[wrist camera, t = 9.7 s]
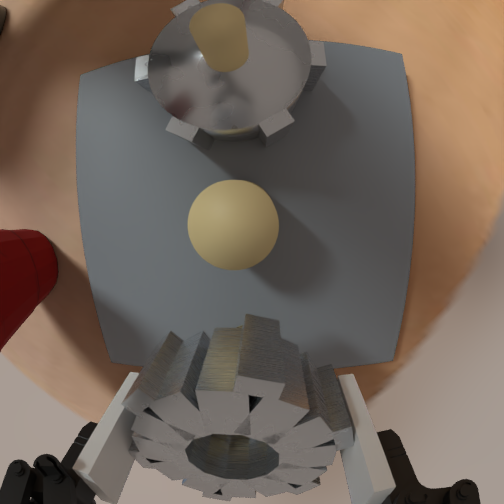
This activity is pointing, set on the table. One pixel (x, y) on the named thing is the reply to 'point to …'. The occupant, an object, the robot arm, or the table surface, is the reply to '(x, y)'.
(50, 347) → the table surface
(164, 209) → the plate
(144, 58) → the seated gear
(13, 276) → the plastic cup
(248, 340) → the planet gear
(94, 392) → the table surface
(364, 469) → the robot arm
